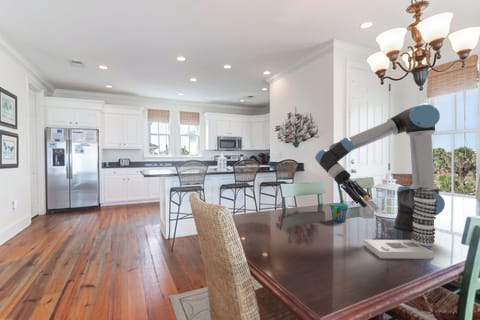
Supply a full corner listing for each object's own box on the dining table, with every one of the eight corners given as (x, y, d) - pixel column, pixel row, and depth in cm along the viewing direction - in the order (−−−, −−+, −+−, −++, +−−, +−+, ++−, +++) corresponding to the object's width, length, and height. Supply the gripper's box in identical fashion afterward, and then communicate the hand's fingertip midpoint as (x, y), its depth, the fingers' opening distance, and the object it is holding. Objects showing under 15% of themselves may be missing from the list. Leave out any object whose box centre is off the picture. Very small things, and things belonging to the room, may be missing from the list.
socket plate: (410, 245, 107) (410, 238, 107) (433, 258, 93) (433, 250, 93) (364, 245, 108) (363, 238, 108) (380, 258, 94) (380, 250, 94)
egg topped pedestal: (369, 216, 116) (368, 195, 116) (373, 218, 112) (373, 196, 112) (359, 216, 116) (359, 195, 116) (363, 218, 112) (363, 196, 112)
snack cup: (336, 216, 160) (336, 201, 160) (352, 219, 153) (352, 203, 153) (325, 221, 149) (324, 205, 149) (342, 224, 142) (342, 207, 142)
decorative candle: (439, 247, 105) (442, 190, 103) (414, 244, 108) (416, 189, 107) (431, 239, 113) (433, 186, 112) (407, 237, 117) (409, 185, 115)
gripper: (343, 178, 132) (376, 212, 120) (325, 180, 119) (360, 219, 107) (352, 168, 128) (388, 203, 116) (335, 170, 115) (373, 209, 103)
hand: (374, 210), depth 111 cm, fingers closed on egg topped pedestal, 6 cm apart
